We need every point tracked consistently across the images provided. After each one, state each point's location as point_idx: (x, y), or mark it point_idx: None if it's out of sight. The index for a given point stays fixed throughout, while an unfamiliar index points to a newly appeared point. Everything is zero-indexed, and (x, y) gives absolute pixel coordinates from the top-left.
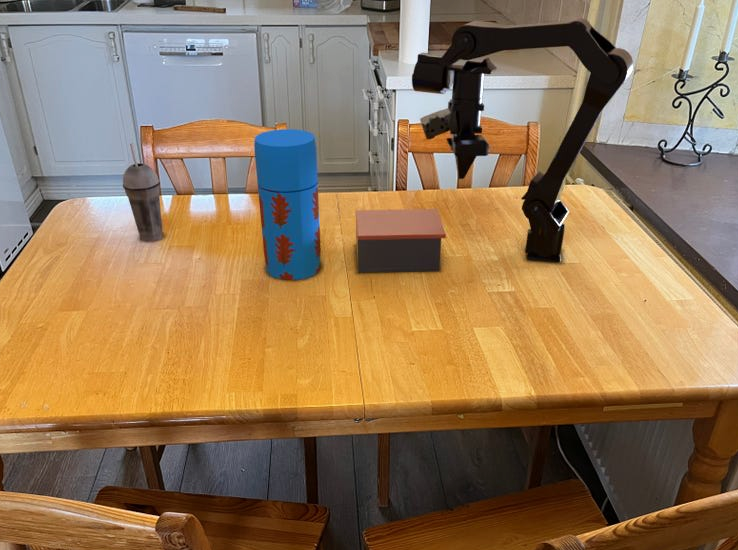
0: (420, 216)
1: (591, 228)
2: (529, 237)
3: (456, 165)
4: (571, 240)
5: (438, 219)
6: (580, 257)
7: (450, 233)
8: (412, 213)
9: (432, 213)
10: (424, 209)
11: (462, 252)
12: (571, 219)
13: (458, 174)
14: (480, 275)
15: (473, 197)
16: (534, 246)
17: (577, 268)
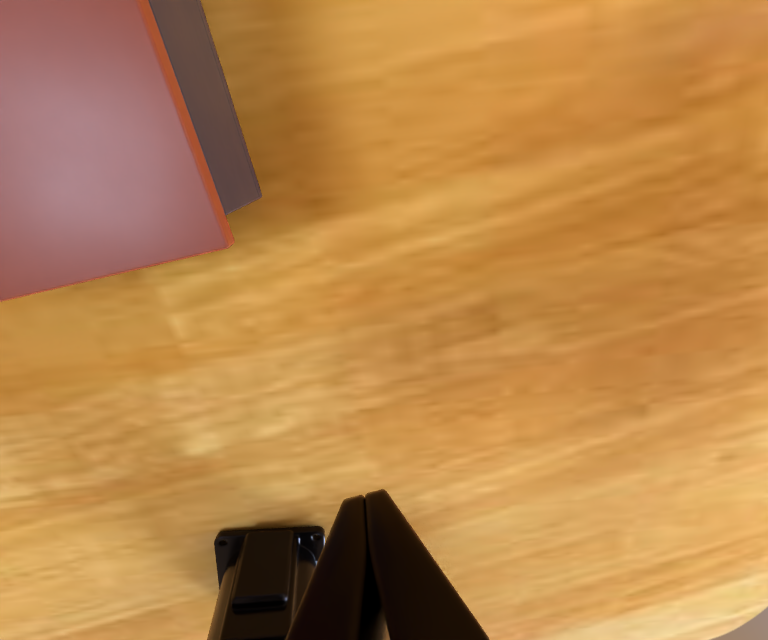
0: (10, 127)
1: None
2: (232, 594)
3: (433, 578)
4: None
5: (16, 279)
6: None
7: (396, 269)
8: (47, 42)
9: (122, 221)
10: (182, 147)
11: (213, 335)
12: (546, 595)
13: (330, 536)
14: (24, 416)
15: (762, 323)
16: (230, 581)
17: None
